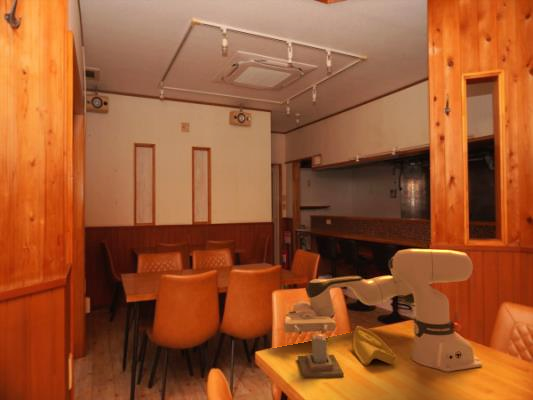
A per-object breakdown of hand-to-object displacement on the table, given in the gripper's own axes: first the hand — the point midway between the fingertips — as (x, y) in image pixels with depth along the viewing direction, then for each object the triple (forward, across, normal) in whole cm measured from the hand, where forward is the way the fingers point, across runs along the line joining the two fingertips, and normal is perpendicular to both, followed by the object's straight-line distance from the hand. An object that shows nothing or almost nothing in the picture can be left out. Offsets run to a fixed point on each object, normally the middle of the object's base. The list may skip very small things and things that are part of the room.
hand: (312, 331), depth 137 cm
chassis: (+13, 0, -8) cm, 15 cm away
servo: (+13, 0, -6) cm, 14 cm away
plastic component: (+4, -22, -8) cm, 23 cm away
